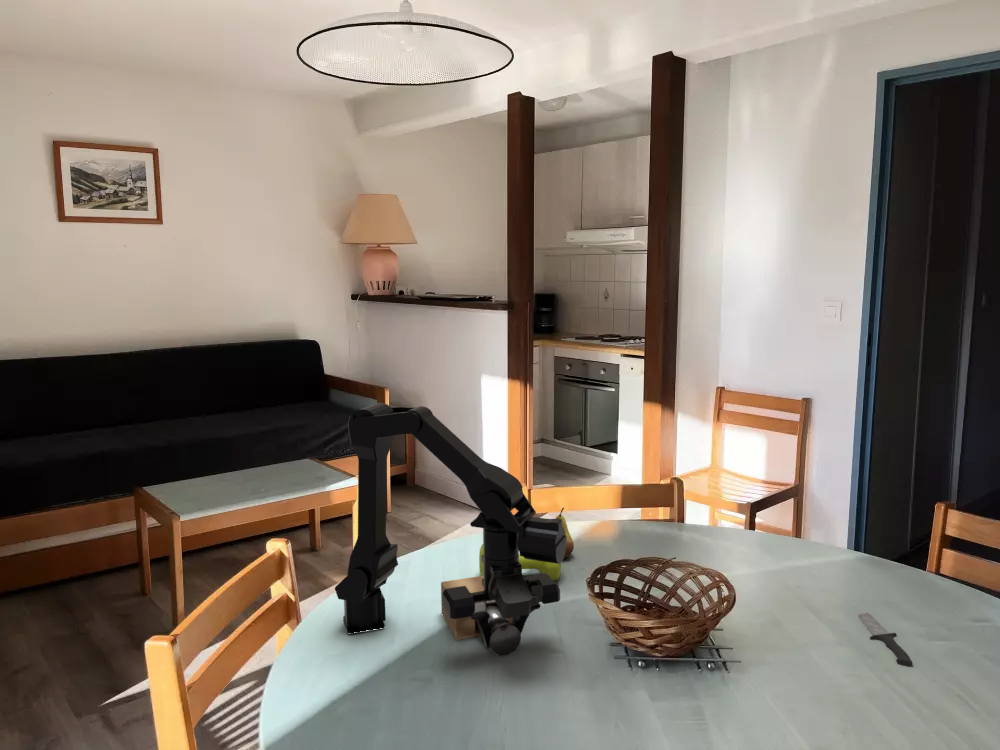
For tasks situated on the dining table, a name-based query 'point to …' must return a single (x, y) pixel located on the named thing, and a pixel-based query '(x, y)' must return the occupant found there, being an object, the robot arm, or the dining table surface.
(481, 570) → the dumbbell
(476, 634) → the housing
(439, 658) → the dining table surface
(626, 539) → the dining table surface
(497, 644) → the dark grey metal cylinder
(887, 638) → the knife
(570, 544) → the fruit
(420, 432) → the robot arm
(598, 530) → the dining table surface
